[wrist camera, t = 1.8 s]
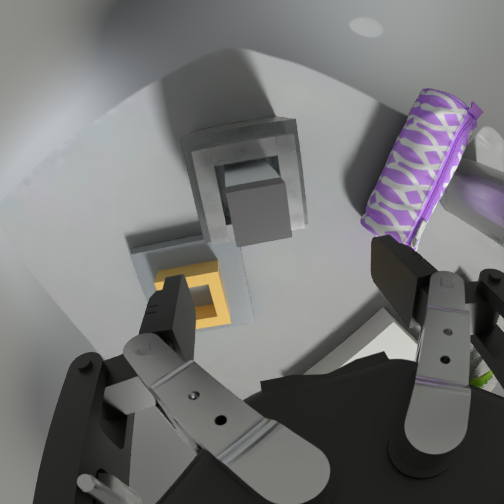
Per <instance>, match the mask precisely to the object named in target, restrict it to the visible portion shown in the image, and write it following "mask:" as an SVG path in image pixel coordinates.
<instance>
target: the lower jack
mask: <svg viewBox="0 0 504 504" xmlns="http://www.w3.org/2000/svg"><path fill="white" fill-rule="evenodd" d="M130 256H131V259H132V262H133V265H134V267H135V270H136V273H137V276H138V278H139V281H140V283H141V286H142V289H143V291H144V294H145V296H146V299H147V301H149V298H150V297H151V296H152V295H153V294H154V292H155V291H157V290H162V289H163V285H164V281H165V278H166V277H169V276H174V275H179V274H184V276H185V278H186V281H187V284H188V287H189V290H190V294H191V297H192V300H193V303H194V306H195V311H196V329H195V332H201V331H207V330H214V329H220V328H226V327H231V326H237V325H243V324H248V323H254V322H255V320H254V314H253V309H252V304H251V299H250V294H249V289H248V284H247V279H246V274H245V269H244V264H243V259H242V254H241V249H240V247H237V246H236V241H231V242H226V243H221V244H216V245H212V243H211V242H209V243H204V238H203V234H200V235H195V236H190V237H185V238H180V239H175V240H170V241H165V242H160V243H156V244H151V245H146V246H141V247H137V248H133V250H132V252H131V254H130Z"/></svg>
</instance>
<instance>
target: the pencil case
mask: <svg viewBox="0 0 504 504" xmlns="http://www.w3.org/2000/svg"><path fill="white" fill-rule="evenodd" d="M482 113H483V111H482V110H481V109H480V108H479V107H478V106H477V105H476V104H475V103H474V102H472V103H471V108H470V109H469V108H468V107H467V106H466V105H465V104H464V103H463V102H462V101H461V100H460V99H458V98H457V97H455V96H453V95H451V94H449V93H446V92H442V91H439V90H435V89H423V90H422V91H421V92H420V95H419V97H418V99H417V100H416V101H415V104H414V106H413V107H412V109H411V111H410V113H409V115H408V118H407V121H406V124H405V126H404V127H403V129H402V130H401V132H400V134H399V136H398V138H397V140H396V142H395V144H394V146H393V148H392V150H391V153H390V155H389V157H388V160H387V162H386V164H385V166H384V169H383V171H382V173H381V175H380V177H379V180H378V182H377V184H376V186H375V188H374V190H373V192H372V194H371V196H370V198H369V200H368V202H367V205H366V212H365V214H364V215H363V216H362V217H361V224H362V226H363V227H365V228H366V229H367V230H369V231H370V232H371V233H372V234H374V235H375V236H377V237H378V236H383V235H388V234H389V235H391V236H392V237H393V238H394V239H396V240H397V241H398V242H399V243H403V244H405V245H407V246H410V247H412V248H413V249H414V250H415V251H417V249H418V243H419V240H420V237H421V234H422V233H423V231H424V228H425V226H426V223H427V222H428V220H429V219H430V216H431V214H432V213H433V211H434V209H435V207H436V205H437V203H438V201H439V200H440V198H441V197H442V196H443V194H444V191H445V189H446V187H447V186H448V184H449V182H450V180H451V178H452V177H453V174H454V172H455V171H456V169H457V167H458V164H459V162H460V160H461V158H462V155H463V153H464V151H465V148H466V146H467V143H468V141H469V139H470V138H471V136H472V134H473V130H474V129H475V128H476V126H477V119H478V118H479V117H480V116H481V114H482Z"/></svg>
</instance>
